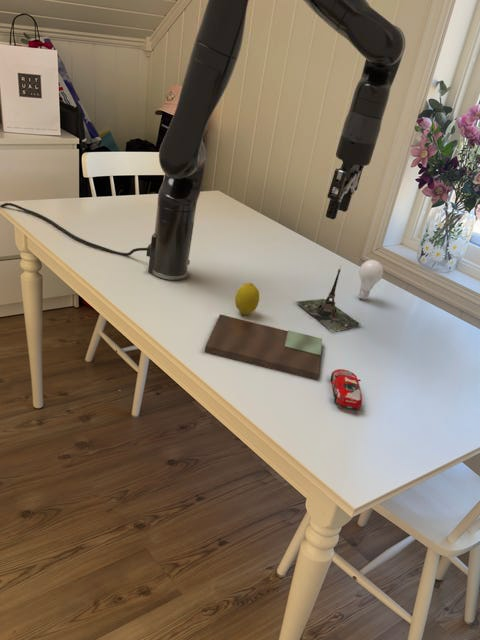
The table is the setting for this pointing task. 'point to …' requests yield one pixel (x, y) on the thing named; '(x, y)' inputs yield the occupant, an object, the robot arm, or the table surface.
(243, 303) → the lemon
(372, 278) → the lightbulb
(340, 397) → the race car
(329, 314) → the eiffel tower souvenir
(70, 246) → the table surface
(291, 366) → the board
